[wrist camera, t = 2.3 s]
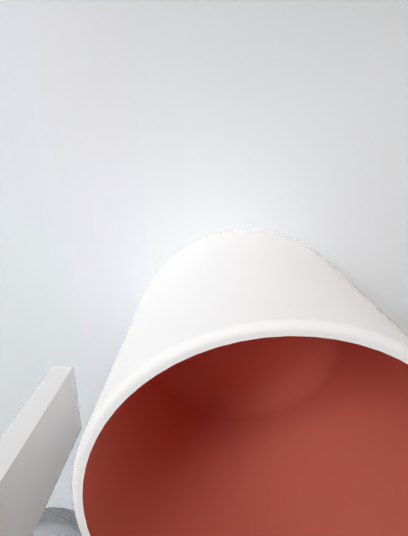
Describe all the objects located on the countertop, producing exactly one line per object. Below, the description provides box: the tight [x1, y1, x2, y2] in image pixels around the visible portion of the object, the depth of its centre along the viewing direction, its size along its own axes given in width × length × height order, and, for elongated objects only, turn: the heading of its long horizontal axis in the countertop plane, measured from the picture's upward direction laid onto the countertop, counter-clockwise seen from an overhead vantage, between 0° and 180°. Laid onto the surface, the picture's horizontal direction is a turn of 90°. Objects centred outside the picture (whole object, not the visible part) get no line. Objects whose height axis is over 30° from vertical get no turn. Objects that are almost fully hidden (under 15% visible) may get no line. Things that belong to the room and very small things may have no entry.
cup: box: [72, 229, 408, 536], centre depth 13 cm, size 10×10×10 cm
